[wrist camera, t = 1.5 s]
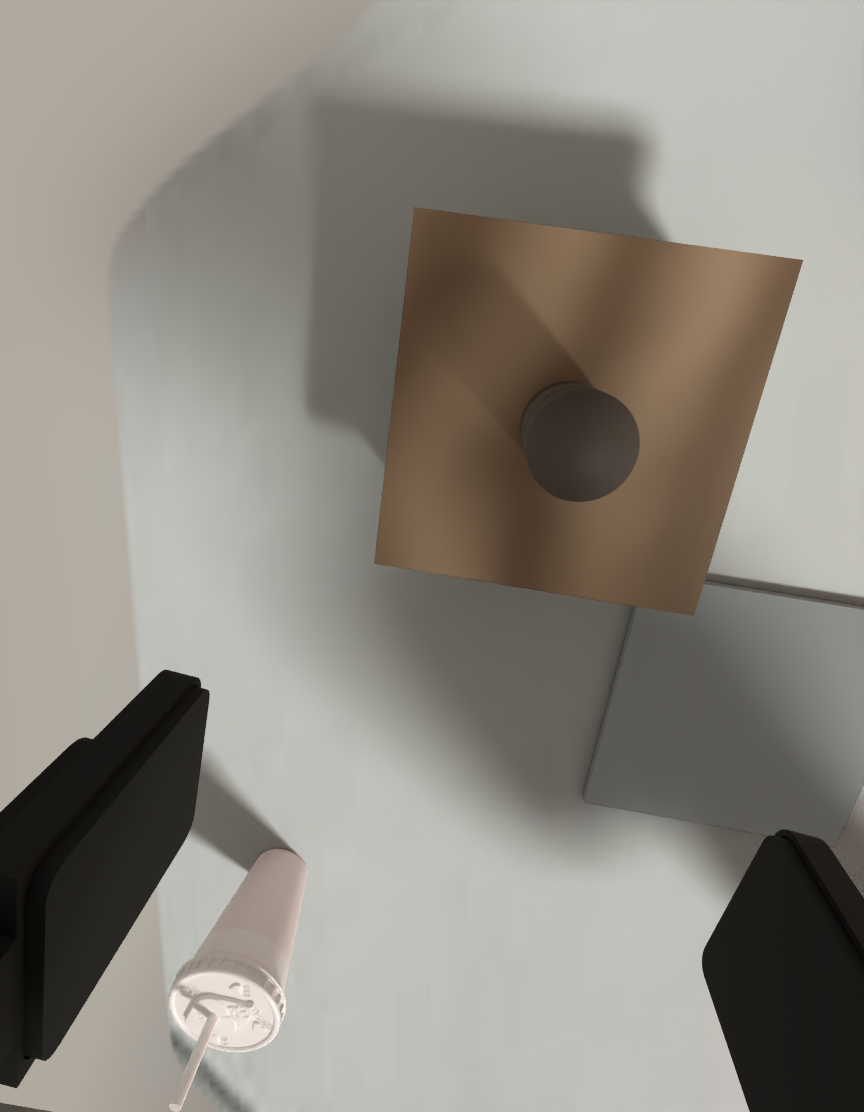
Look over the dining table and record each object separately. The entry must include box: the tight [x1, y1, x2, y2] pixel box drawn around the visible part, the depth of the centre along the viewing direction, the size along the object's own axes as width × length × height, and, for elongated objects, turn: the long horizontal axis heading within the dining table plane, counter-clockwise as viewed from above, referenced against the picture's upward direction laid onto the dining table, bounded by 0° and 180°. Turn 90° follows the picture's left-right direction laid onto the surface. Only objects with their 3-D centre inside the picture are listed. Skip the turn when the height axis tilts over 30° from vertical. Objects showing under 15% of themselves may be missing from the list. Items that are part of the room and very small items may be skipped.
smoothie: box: [168, 849, 308, 1112], centre depth 36 cm, size 6×6×14 cm
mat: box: [583, 581, 864, 848], centre depth 35 cm, size 15×15×1 cm
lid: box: [374, 208, 803, 616], centre depth 22 cm, size 14×14×6 cm
